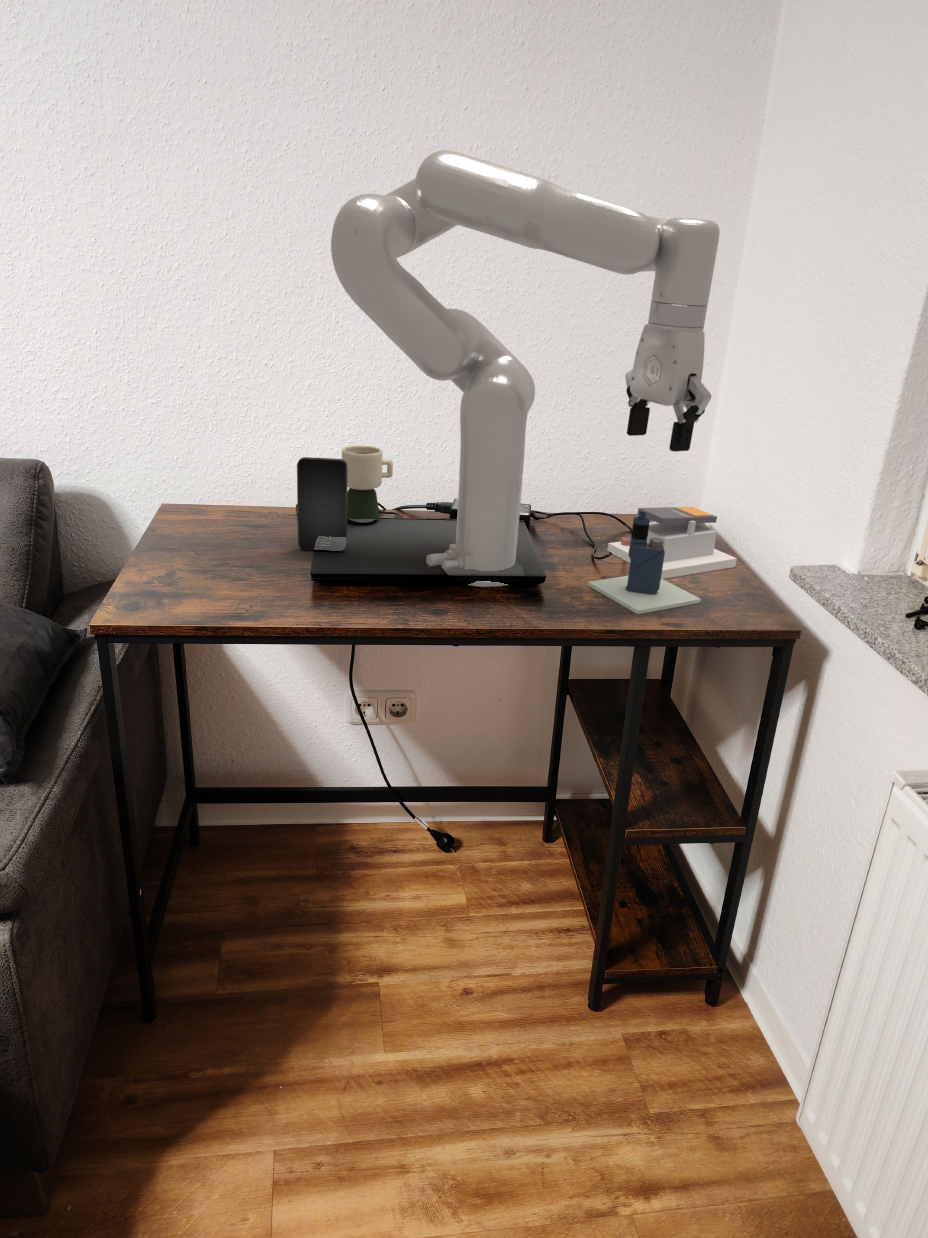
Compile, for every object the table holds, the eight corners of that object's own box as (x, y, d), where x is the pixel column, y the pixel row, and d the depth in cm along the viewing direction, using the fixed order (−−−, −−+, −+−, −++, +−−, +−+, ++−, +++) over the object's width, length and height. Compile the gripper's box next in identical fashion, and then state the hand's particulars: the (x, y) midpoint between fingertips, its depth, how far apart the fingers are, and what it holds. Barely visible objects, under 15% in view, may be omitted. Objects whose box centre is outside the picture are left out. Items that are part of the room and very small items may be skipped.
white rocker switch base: (661, 579, 143) (668, 532, 140) (607, 551, 154) (612, 507, 151) (735, 566, 150) (743, 522, 147) (678, 541, 161) (685, 499, 158)
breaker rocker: (661, 524, 144) (662, 517, 144) (637, 514, 149) (638, 507, 148) (715, 523, 150) (717, 515, 149) (691, 512, 155) (692, 505, 154)
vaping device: (624, 585, 138) (634, 509, 133) (658, 589, 137) (670, 513, 132) (623, 591, 135) (633, 514, 131) (658, 595, 134) (670, 518, 130)
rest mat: (637, 614, 129) (638, 610, 129) (587, 585, 138) (588, 581, 138) (700, 602, 135) (701, 598, 134) (648, 575, 144) (648, 572, 144)
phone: (347, 549, 147) (347, 459, 141) (346, 552, 146) (347, 460, 140) (298, 547, 147) (296, 456, 141) (297, 549, 146) (296, 458, 140)
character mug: (387, 514, 166) (389, 444, 161) (395, 526, 160) (396, 454, 155) (328, 516, 163) (328, 444, 158) (333, 528, 157) (333, 454, 152)
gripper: (616, 309, 128) (600, 430, 134) (698, 324, 114) (675, 458, 121) (658, 311, 131) (640, 428, 138) (742, 326, 117) (718, 455, 124)
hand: (657, 442), depth 129 cm, fingers open, 9 cm apart
